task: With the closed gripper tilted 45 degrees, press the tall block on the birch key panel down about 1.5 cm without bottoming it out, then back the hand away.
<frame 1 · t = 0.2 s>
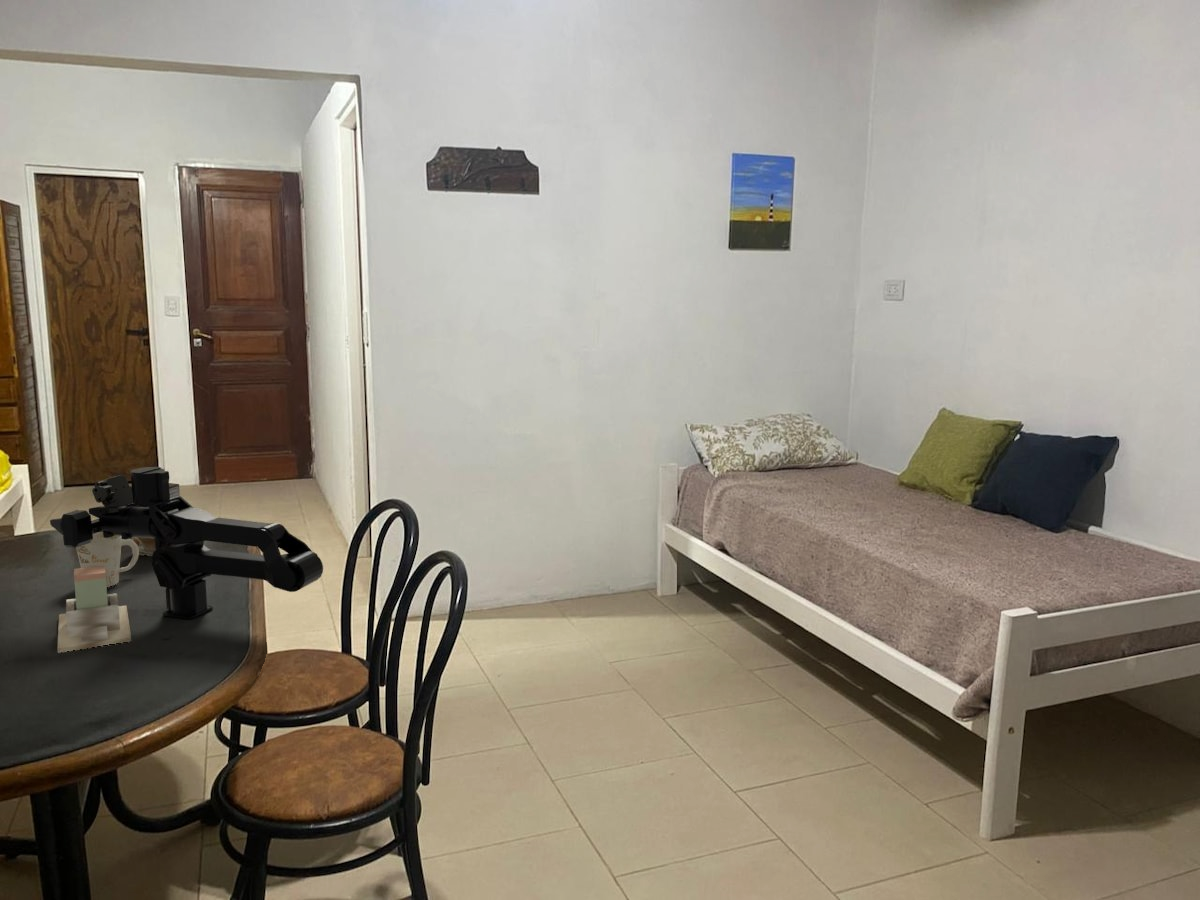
hand: (70, 516, 176), 17 cm above the table, tool horizontal, fingers open, 9 cm apart
block: (91, 591, 162), point 7 cm above the table, slide at 0.0 cm
coffee box: (157, 553, 210), on the table
mug: (111, 582, 189), on the table
key panel: (94, 629, 163), on the table
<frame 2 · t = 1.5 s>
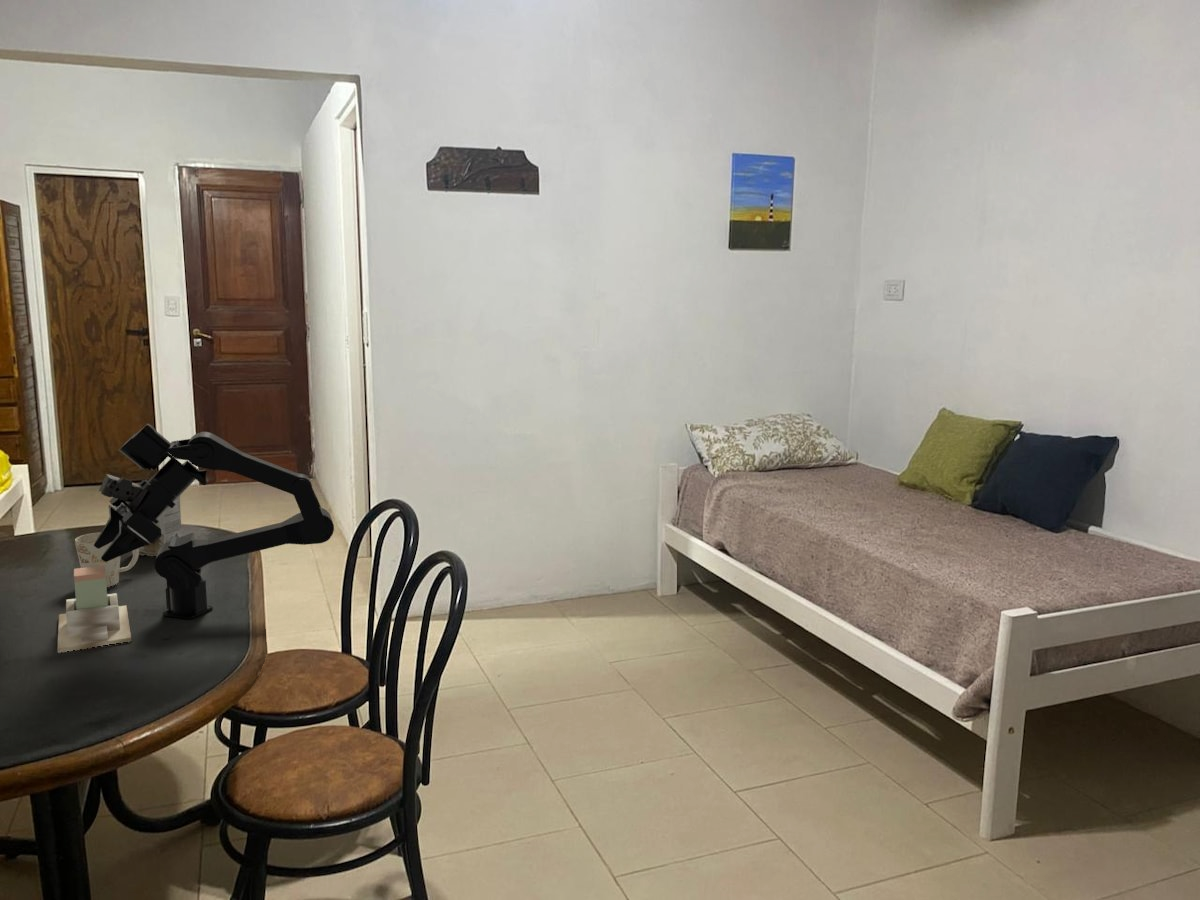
hand: (99, 553, 162), 14 cm above the table, tool tilted 45°, fingers open, 9 cm apart
nothing on the table moved.
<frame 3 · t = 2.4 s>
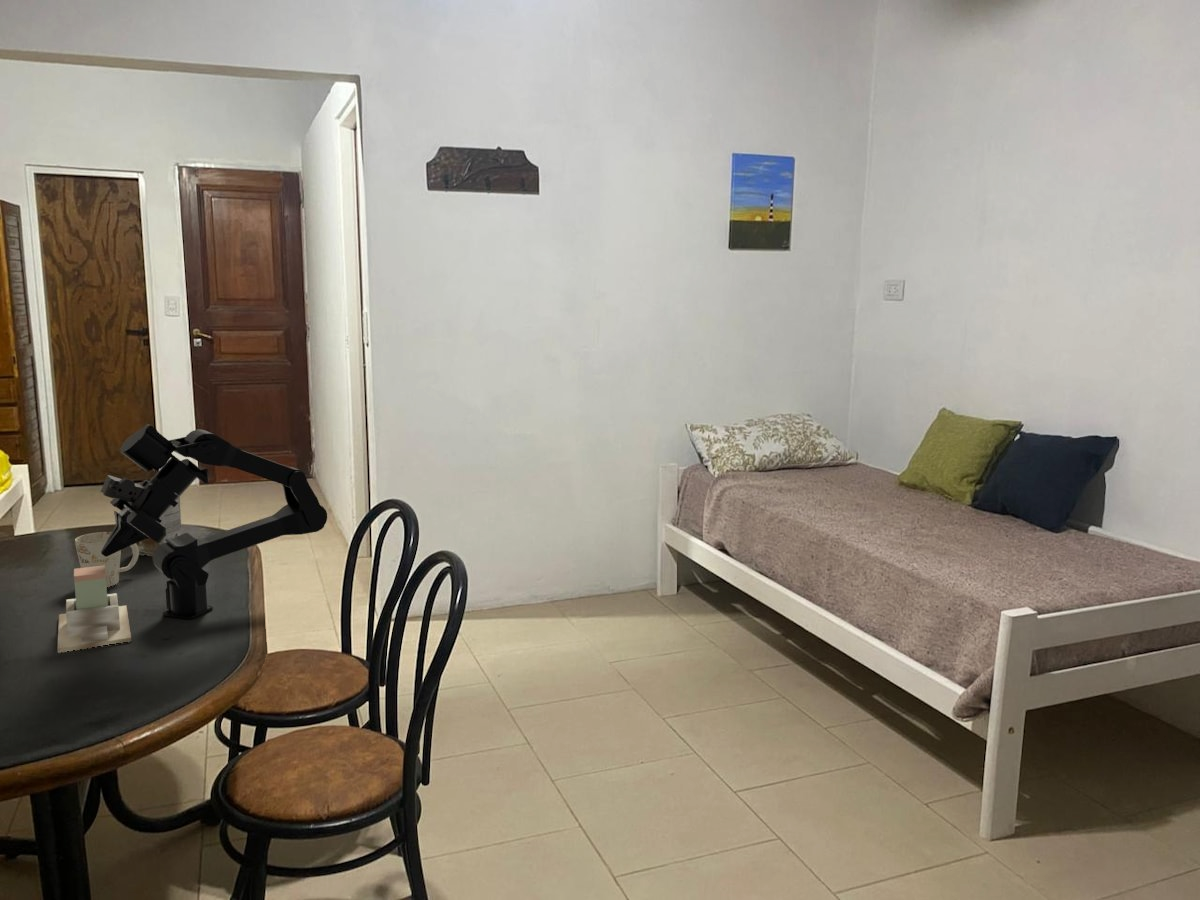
hand: (103, 554, 162), 14 cm above the table, tool tilted 45°, fingers closed
nothing on the table moved.
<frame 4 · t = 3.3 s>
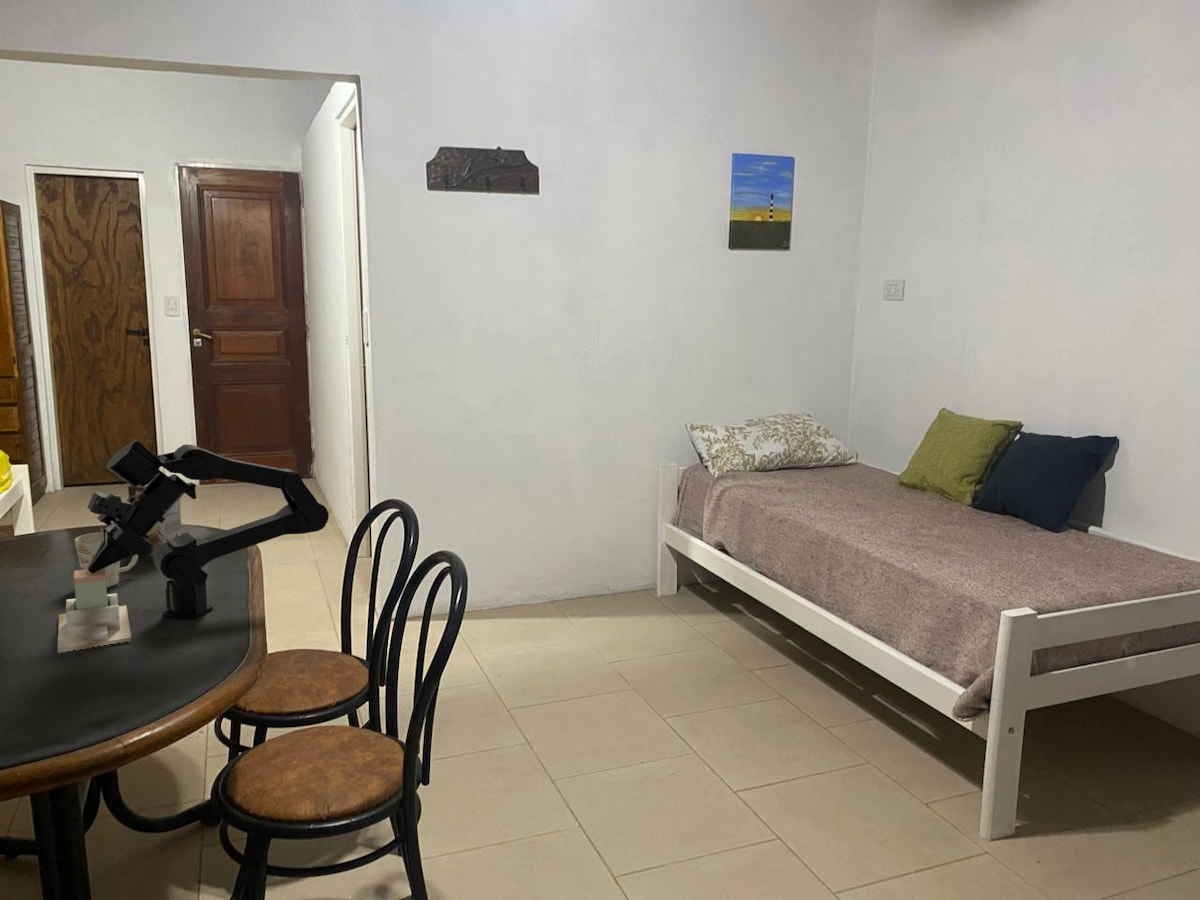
hand: (89, 571, 161), 11 cm above the table, tool tilted 45°, fingers closed, pressing on block
block: (91, 593, 162), point 7 cm above the table, slide at 0.4 cm, touching gripper
everything else where it was.
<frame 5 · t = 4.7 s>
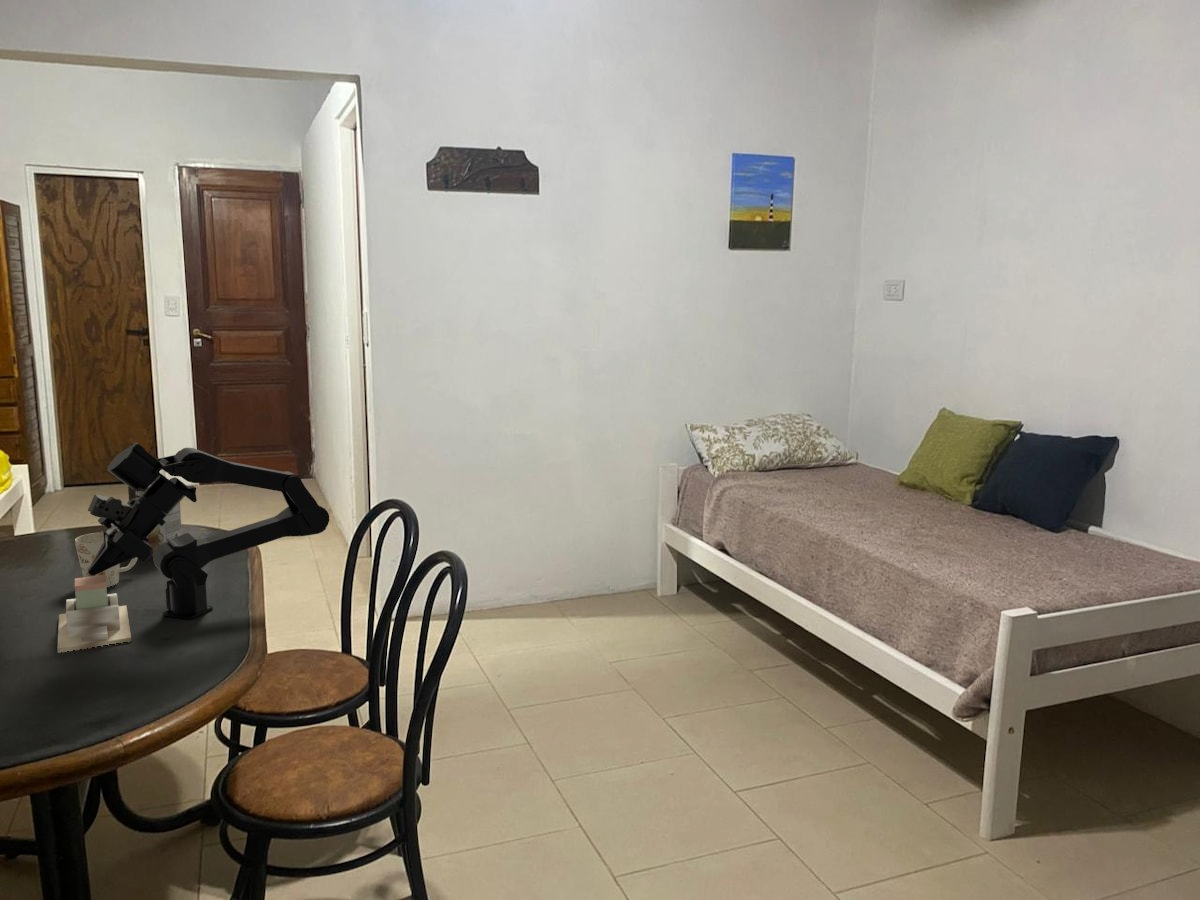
hand: (89, 573, 161), 10 cm above the table, tool tilted 45°, fingers closed
block: (92, 600, 162), point 5 cm above the table, slide at 1.8 cm
everything else where it was.
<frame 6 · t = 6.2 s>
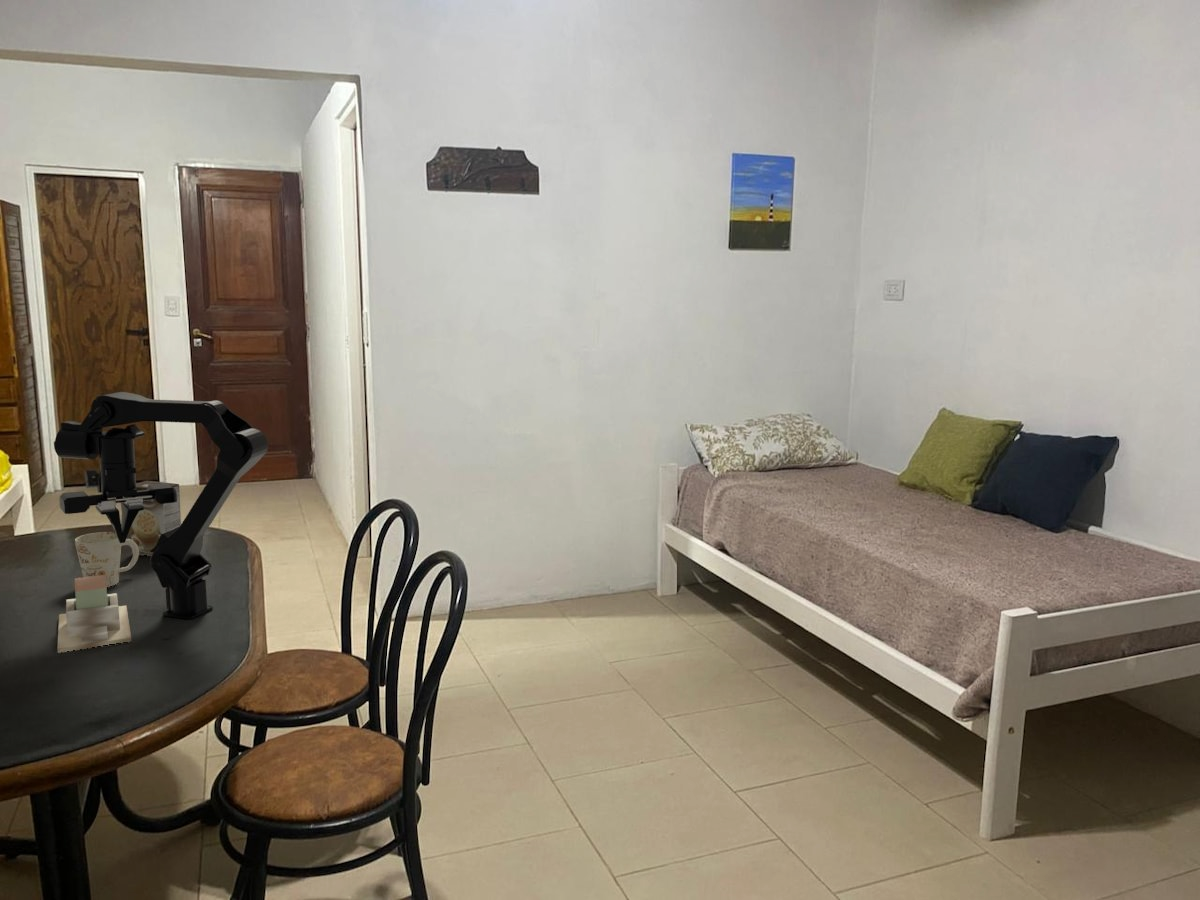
hand: (121, 542, 171), 13 cm above the table, tool pointing down, fingers closed
nothing on the table moved.
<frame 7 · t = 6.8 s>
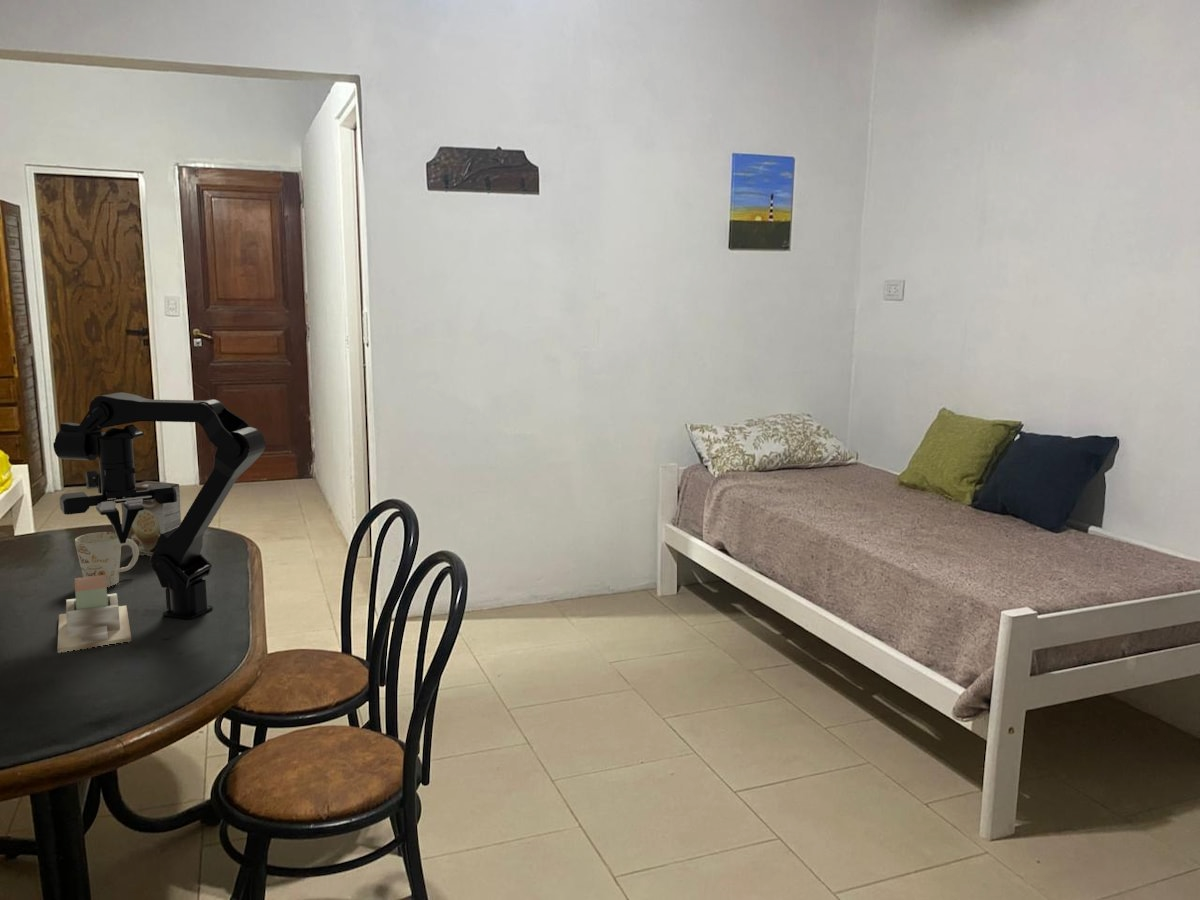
hand: (122, 542, 172), 13 cm above the table, tool pointing down, fingers closed
nothing on the table moved.
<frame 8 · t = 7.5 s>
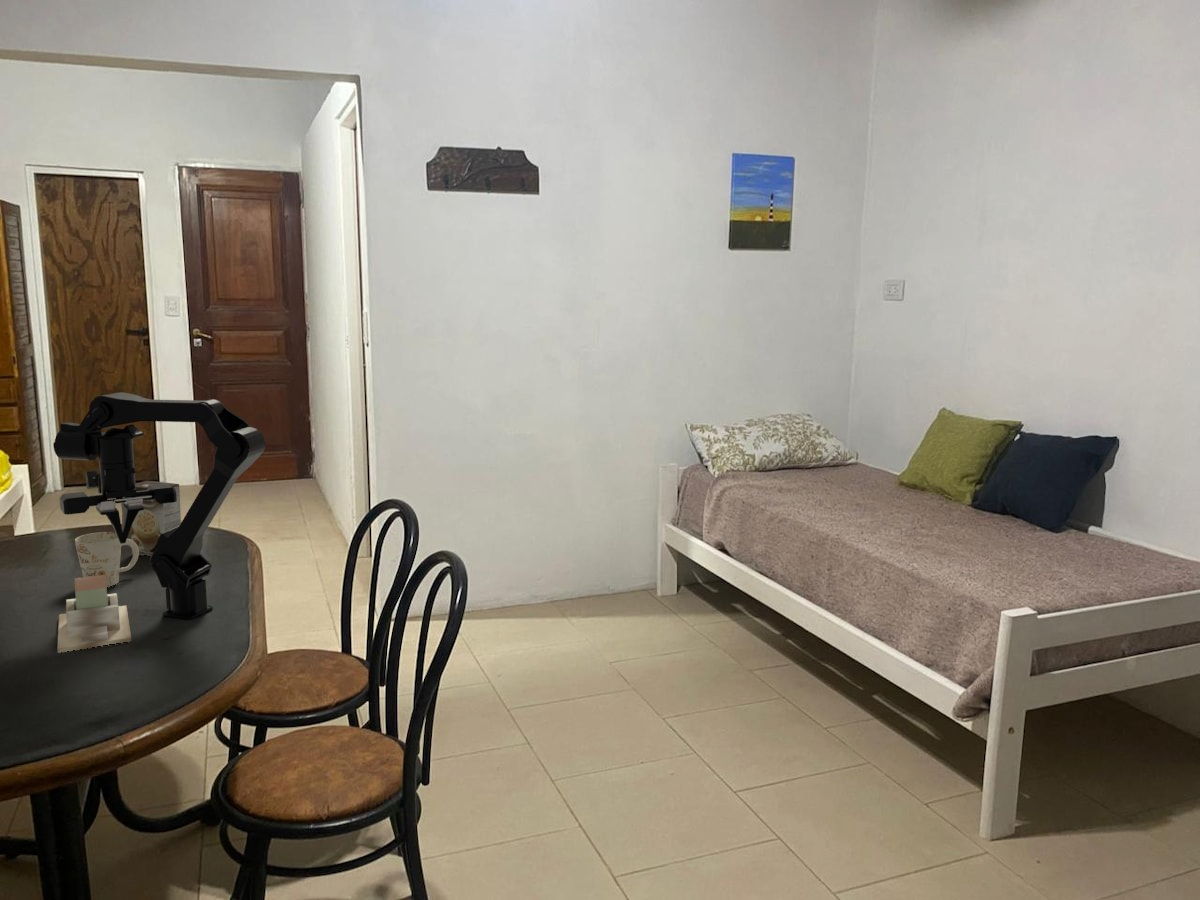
hand: (122, 542, 172), 13 cm above the table, tool pointing down, fingers closed
nothing on the table moved.
at the end: block slide at 1.8 cm; mug moved 0.2 cm from its start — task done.
